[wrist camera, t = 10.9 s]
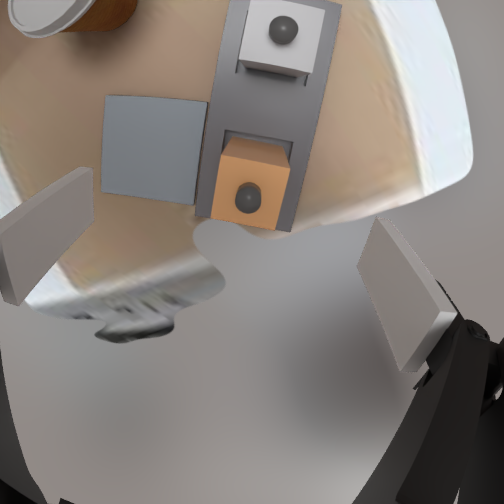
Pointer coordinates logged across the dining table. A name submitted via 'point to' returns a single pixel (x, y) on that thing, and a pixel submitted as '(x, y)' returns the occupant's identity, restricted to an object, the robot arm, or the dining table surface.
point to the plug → (250, 183)
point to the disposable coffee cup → (68, 15)
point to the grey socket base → (269, 87)
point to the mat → (152, 147)
